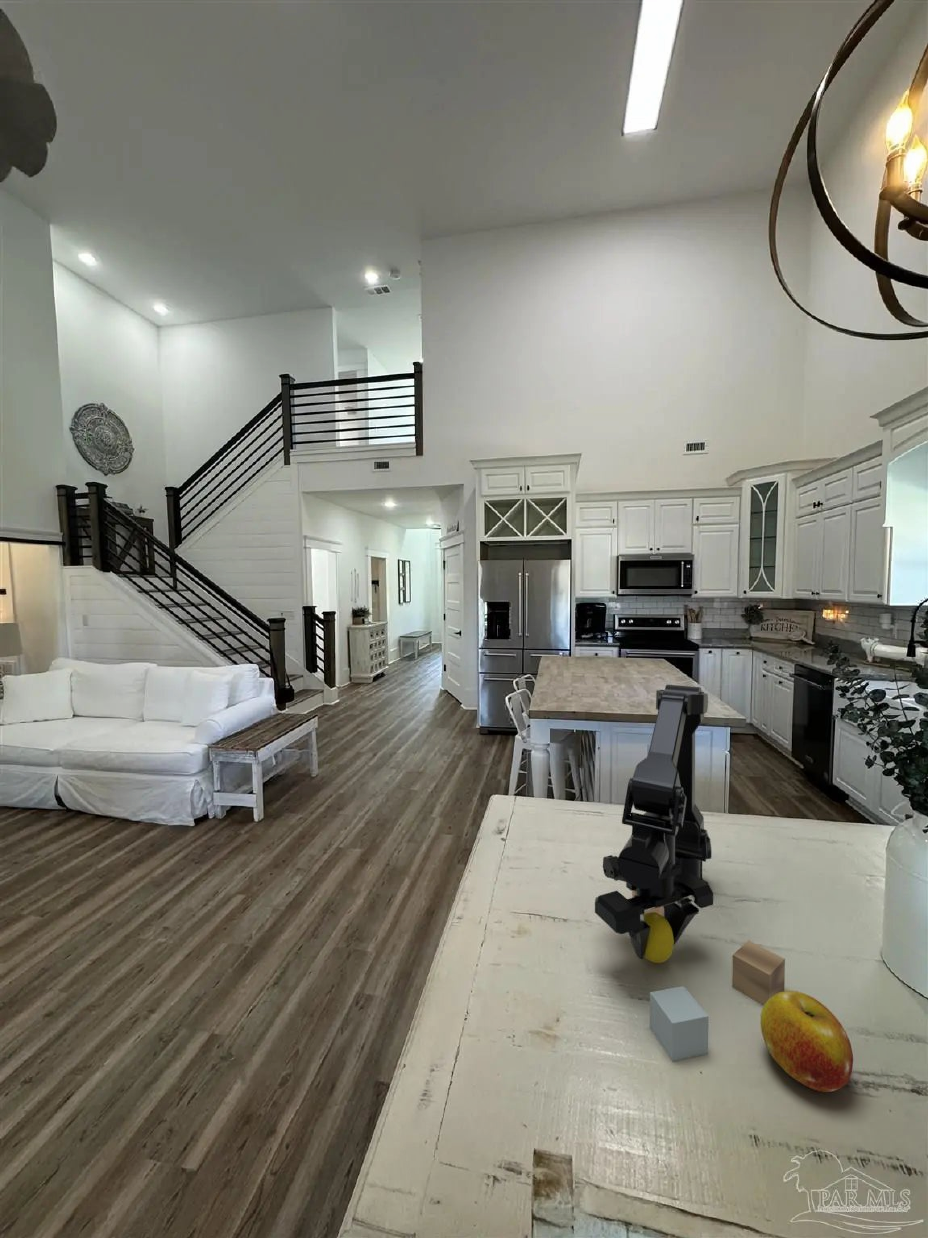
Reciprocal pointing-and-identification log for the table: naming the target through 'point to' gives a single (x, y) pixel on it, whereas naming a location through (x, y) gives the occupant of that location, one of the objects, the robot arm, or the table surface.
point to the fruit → (807, 1040)
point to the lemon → (658, 938)
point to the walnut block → (758, 972)
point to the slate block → (679, 1023)
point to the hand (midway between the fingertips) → (654, 952)
